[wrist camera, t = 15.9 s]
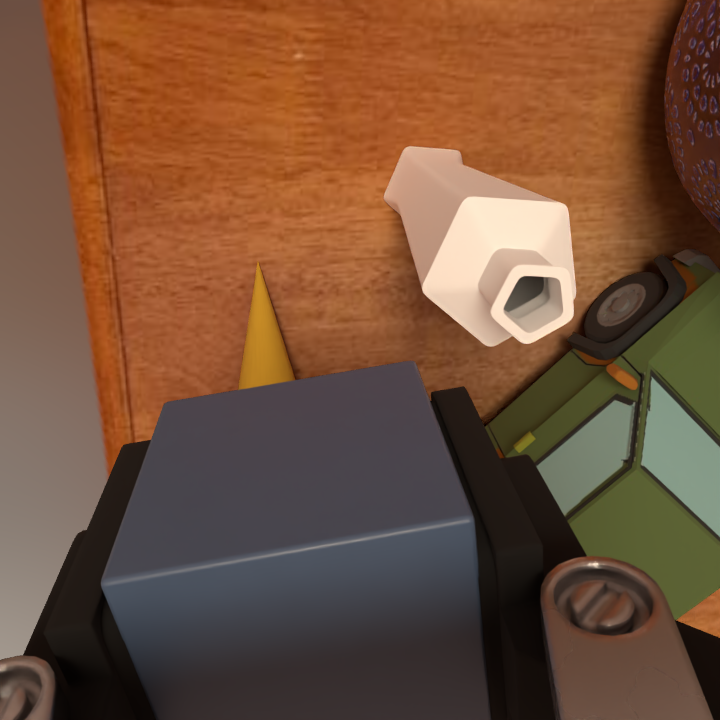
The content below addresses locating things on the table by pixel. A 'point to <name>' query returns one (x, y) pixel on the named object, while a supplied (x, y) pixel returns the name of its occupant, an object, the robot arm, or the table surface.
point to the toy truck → (636, 427)
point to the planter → (696, 105)
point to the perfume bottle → (485, 247)
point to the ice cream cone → (263, 343)
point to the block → (302, 557)
